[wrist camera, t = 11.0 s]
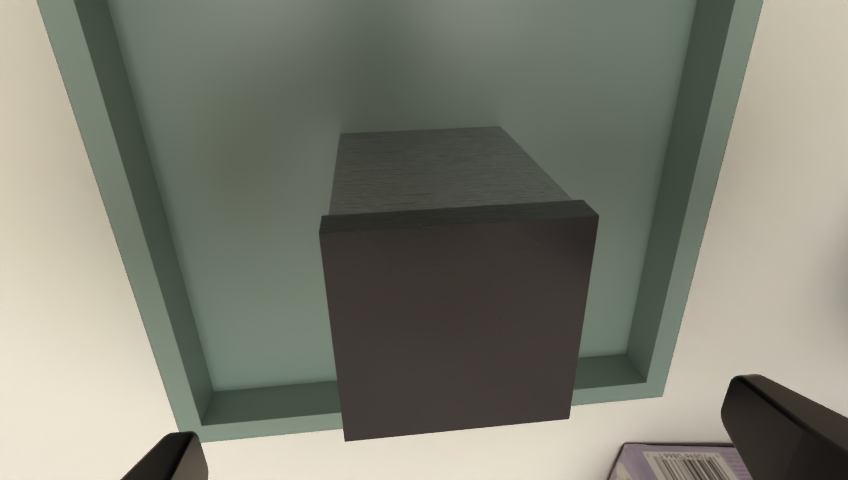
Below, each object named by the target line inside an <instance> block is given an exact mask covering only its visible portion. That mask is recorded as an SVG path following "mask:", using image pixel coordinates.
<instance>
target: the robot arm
mask: <svg viewBox="0 0 848 480" xmlns="http://www.w3.org/2000/svg"><path fill="white" fill-rule="evenodd" d="M721 419H722V422H723V425H724V427H725V429H726V431H727V433H728V435H729V436H730V438H731V440H732V442H733V444H734V446H735V448H736V450H737V452H738V453H739V455H740V457H741V459H742V461H743V463H744V465H745V467H746V469H747V470H748V472H749V474H750V476H751V478H752V480H848V418H847V417H845V416H843V415H841V414H839V413H837V412H835V411H833V410H830V409H828V408H826V407H824V406H822V405H820V404H818V403H816V402H814V401H812V400H810V399H808V398H806V397H804V396H802V395H800V394H798V393H796V392H794V391H792V390H790V389H788V388H786V387H784V386H782V385H780V384H778V383H776V382H774V381H772V380H770V379H768V378H766V377H764V376H762V375H758V374H750V375H740V376H736V377H734V378H733V379H732V380H731V382H730V384H729V387H728V390H727V393H726V396H725V399H724V402H723V405H722V408H721ZM121 480H208V466H207V463H206V459H205V456H204V453H203V450H202V447H201V443H200V440H199V437H198V435H197V434H196V432H194V431H186V432H176V433H170V434H167V435H166V436H164V437H163V438H162V439H161V440H160V441H159V442H158V443H157V444H156V445H155V446H154V447H153V448H152V449H151V450H150V451H149V452H148V453H147V454H146V455H145V456H144V457H143V458H142V459H141V460H140V461H139V462H138V463H137V464H136V465H135V466H134V467H133V468H132V469H131V470H130V471H129V472H128V473H127V474H126V475H125V476H124V477H123V478H122V479H121Z"/></svg>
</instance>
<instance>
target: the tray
mask: <svg viewBox="0 0 848 480" xmlns="http://www.w3.org/2000/svg"><path fill="white" fill-rule="evenodd" d="M37 3H38V6H39V9H40V12H41V15H42V18H43V21H44V24H45V27H46V31H47V34H48V37H49V40H50V43H51V46H52V49H53V52H54V55H55V58H56V61H57V64H58V67H59V70H60V73H61V76H62V79H63V82H64V85H65V88H66V91H67V94H68V97H69V100H70V103H71V106H72V109H73V112H74V115H75V118H76V121H77V124H78V127H79V130H80V133H81V136H82V139H83V142H84V145H85V148H86V152H87V155H88V158H89V161H90V164H91V167H92V170H93V173H94V176H95V179H96V182H97V185H98V188H99V191H100V194H101V197H102V200H103V203H104V206H105V209H106V212H107V215H108V218H109V221H110V224H111V227H112V230H113V233H114V236H115V239H116V242H117V245H118V248H119V251H120V254H121V257H122V260H123V263H124V266H125V269H126V273H127V276H128V279H129V282H130V285H131V288H132V291H133V294H134V297H135V300H136V303H137V306H138V309H139V312H140V315H141V318H142V321H143V324H144V327H145V330H146V333H147V336H148V339H149V342H150V345H151V348H152V351H153V354H154V357H155V360H156V363H157V366H158V369H159V372H160V375H161V378H162V381H163V384H164V387H165V390H166V394H167V397H168V400H169V403H170V406H171V409H172V412H173V415H174V418H175V421H176V424H177V427H178V430H179V432H186V431H194V432H196V434H197V435H198V437H199V440H200V443H204V442H214V441H224V440H234V439H244V438H254V437H264V436H274V435H284V434H294V433H304V432H314V431H324V430H334V429H343V423H342V415H341V407H340V399H339V391H338V383H337V375H336V367H335V359H334V352H333V344H332V336H331V328H330V320H329V312H328V304H327V296H326V288H325V280H324V272H323V264H322V256H321V248H320V240H319V229H320V223H321V217H322V216H324V215H328V213H329V206H330V199H331V192H332V185H333V178H334V171H335V164H336V157H337V150H338V143H339V136H340V134H342V133H363V132H384V131H405V130H426V129H447V128H468V127H489V126H501V127H502V128H503V129H504V130H505V131H506V132H507V133H508V134H509V135H510V136H511V137H512V138H513V139H514V140H515V141H516V142H517V143H518V144H519V145H520V146H521V147H522V148H523V149H524V150H525V152H526V153H527V154H528V155H529V156H530V157H531V158H532V159H533V160H534V161H535V162H536V163H537V164H538V165H539V166H540V167H541V168H542V169H543V170H544V171H545V172H546V173H547V174H548V175H549V176H550V177H551V178H552V179H553V180H554V181H555V182H556V183H557V184H558V185H559V186H560V187H561V188H562V189H563V190H564V191H565V192H566V193H567V194H568V195H569V196H570V197H571V198H572V199H573V200H584V201H585V202H586V203H587V204H588V205H589V206H590V207H591V208H592V209H593V210H594V211H595V212H596V213H597V214H598V215H599V222H598V229H597V236H596V242H595V249H594V256H593V262H592V269H591V276H590V282H589V289H588V296H587V302H586V309H585V316H584V322H583V329H582V336H581V342H580V349H579V356H578V362H577V369H576V376H575V382H574V389H573V396H572V402H571V406H574V405H584V404H594V403H604V402H614V401H624V400H634V399H644V398H654V397H662V395H663V392H664V388H665V384H666V380H667V376H668V372H669V368H670V364H671V360H672V356H673V352H674V349H675V345H676V341H677V337H678V333H679V329H680V325H681V321H682V317H683V313H684V309H685V305H686V302H687V298H688V294H689V290H690V286H691V282H692V278H693V274H694V270H695V266H696V262H697V259H698V255H699V251H700V247H701V243H702V239H703V235H704V231H705V227H706V223H707V219H708V215H709V212H710V208H711V204H712V200H713V196H714V192H715V188H716V184H717V180H718V176H719V172H720V169H721V165H722V161H723V157H724V153H725V149H726V145H727V141H728V137H729V133H730V129H731V125H732V122H733V118H734V114H735V110H736V106H737V102H738V98H739V94H740V90H741V86H742V82H743V79H744V75H745V71H746V67H747V63H748V59H749V55H750V51H751V47H752V43H753V39H754V35H755V32H756V28H757V24H758V20H759V16H760V12H761V8H762V4H763V0H37Z"/></svg>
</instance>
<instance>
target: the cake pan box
mask: <svg viewBox="0 0 848 480" xmlns="http://www.w3.org/2000/svg"><path fill="white" fill-rule="evenodd" d="M608 480H752V478H751V476H750V474H749V472H748V470H747V469H746V467H745V465H744V463H743V461H742V459H741V457H740V455H739V453H738V452H737V450H736V448H732V447H694V446H654V445H646V444H625V445H624V446H623V448H622V451H621V453H620V455H619V457H618V459H617V462H616V464H615V466H614V468H613V471H612V473H611V475H610V477H609V479H608Z"/></svg>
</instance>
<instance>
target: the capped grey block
mask: <svg viewBox="0 0 848 480" xmlns="http://www.w3.org/2000/svg"><path fill="white" fill-rule="evenodd" d="M598 222H599V215H598V214H597V213H596V212H595V211H594V210H593V209H592V208H591V207H590V206H589V205H588V204H587V203H586V202H585V201H584V200H573V199H572V198H571V197H570V196H569V195H568V194H567V193H566V192H565V191H564V190H563V189H562V188H561V187H560V186H559V185H558V184H557V183H556V182H555V181H554V180H553V179H552V178H551V177H550V176H549V175H548V174H547V173H546V172H545V171H544V170H543V169H542V168H541V167H540V166H539V165H538V164H537V163H536V162H535V161H534V160H533V159H532V158H531V157H530V156H529V155H528V154H527V153H526V152H525V150H524V149H523V148H522V147H521V146H520V145H519V144H518V143H517V142H516V141H515V140H514V139H513V138H512V137H511V136H510V135H509V134H508V133H507V132H506V131H505V130H504V129H503V128H502V127H501V126H489V127H468V128H447V129H426V130H405V131H384V132H363V133H342V134H340V136H339V143H338V150H337V157H336V164H335V171H334V178H333V185H332V192H331V199H330V206H329V213H328V215H324V216H322V217H321V223H320V229H319V240H320V248H321V256H322V264H323V272H324V280H325V288H326V296H327V304H328V312H329V320H330V328H331V336H332V344H333V352H334V359H335V367H336V375H337V383H338V391H339V399H340V407H341V415H342V423H343V431H344V439H345V442H346V441H356V440H366V439H375V438H385V437H395V436H405V435H415V434H425V433H434V432H444V431H454V430H464V429H474V428H484V427H493V426H503V425H513V424H523V423H533V422H543V421H552V420H562V419H569V415H570V409H571V402H572V396H573V389H574V382H575V376H576V369H577V362H578V356H579V349H580V342H581V336H582V329H583V322H584V316H585V309H586V302H587V296H588V289H589V282H590V276H591V269H592V262H593V256H594V249H595V242H596V236H597V229H598Z"/></svg>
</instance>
